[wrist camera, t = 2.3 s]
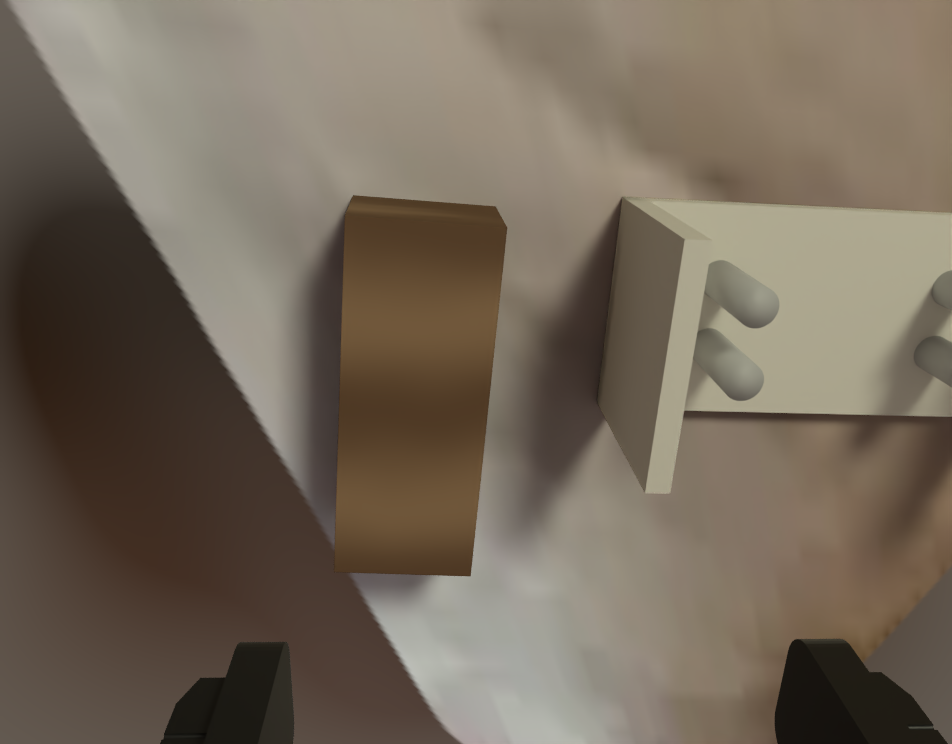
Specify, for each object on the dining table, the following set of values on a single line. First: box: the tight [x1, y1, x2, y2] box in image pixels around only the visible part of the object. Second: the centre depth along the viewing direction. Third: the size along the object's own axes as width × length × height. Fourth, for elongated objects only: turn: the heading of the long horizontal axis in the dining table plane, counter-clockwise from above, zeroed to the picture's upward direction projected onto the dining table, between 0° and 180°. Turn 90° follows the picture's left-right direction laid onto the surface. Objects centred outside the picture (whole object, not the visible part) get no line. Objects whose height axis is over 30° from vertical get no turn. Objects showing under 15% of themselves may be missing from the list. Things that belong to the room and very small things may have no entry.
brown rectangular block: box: [334, 195, 507, 576], centre depth 29 cm, size 13×5×4 cm, turn 175°
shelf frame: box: [597, 197, 952, 493], centre depth 27 cm, size 17×8×7 cm, turn 87°
